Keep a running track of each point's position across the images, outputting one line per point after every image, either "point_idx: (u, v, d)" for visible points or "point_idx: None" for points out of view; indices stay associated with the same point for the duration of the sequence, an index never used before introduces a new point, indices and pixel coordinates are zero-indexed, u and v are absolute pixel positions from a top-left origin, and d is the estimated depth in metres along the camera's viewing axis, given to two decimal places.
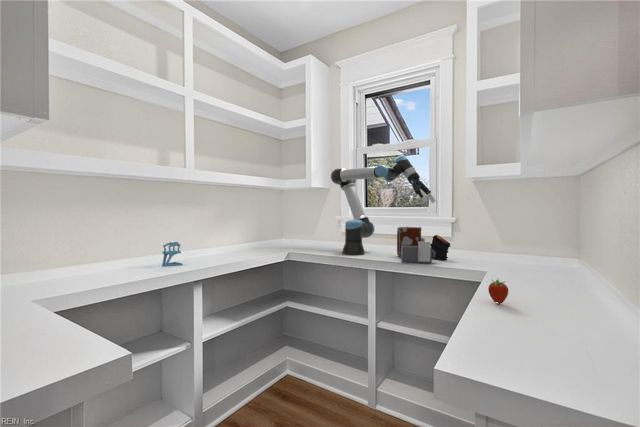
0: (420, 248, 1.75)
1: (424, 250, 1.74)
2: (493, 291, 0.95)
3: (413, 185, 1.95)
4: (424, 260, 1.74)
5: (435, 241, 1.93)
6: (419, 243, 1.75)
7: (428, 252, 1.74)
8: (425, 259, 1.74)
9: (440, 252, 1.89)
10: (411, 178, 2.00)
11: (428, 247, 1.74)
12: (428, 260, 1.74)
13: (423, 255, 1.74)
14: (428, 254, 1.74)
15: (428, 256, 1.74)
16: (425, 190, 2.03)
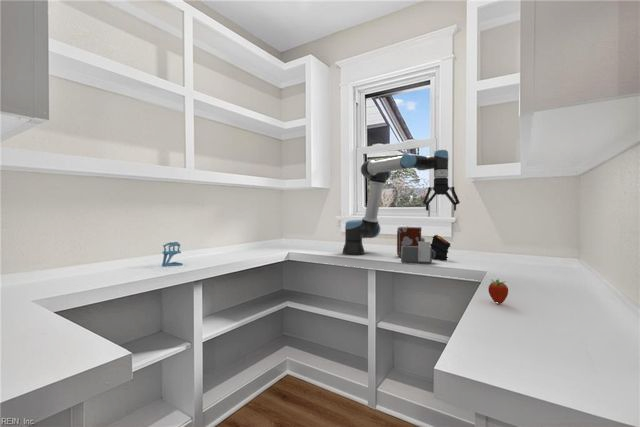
0: (420, 248, 1.75)
1: (424, 250, 1.74)
2: (493, 291, 0.95)
3: None
4: (424, 260, 1.74)
5: (435, 241, 1.93)
6: (419, 243, 1.75)
7: (428, 252, 1.74)
8: (425, 259, 1.74)
9: (440, 252, 1.89)
10: None
11: (428, 247, 1.74)
12: (428, 260, 1.74)
13: (423, 255, 1.74)
14: (428, 254, 1.74)
15: (428, 256, 1.74)
16: (450, 200, 1.73)
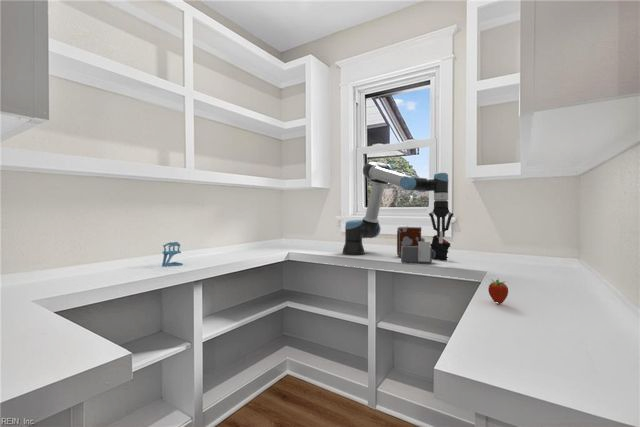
0: (420, 248, 1.75)
1: (424, 250, 1.74)
2: (493, 291, 0.95)
3: (431, 220, 1.74)
4: (424, 260, 1.74)
5: (435, 241, 1.93)
6: (419, 243, 1.75)
7: (428, 252, 1.74)
8: (425, 259, 1.74)
9: (440, 252, 1.89)
10: None
11: (428, 247, 1.74)
12: (428, 260, 1.74)
13: (423, 255, 1.74)
14: (428, 254, 1.74)
15: (428, 256, 1.74)
16: (442, 224, 1.73)
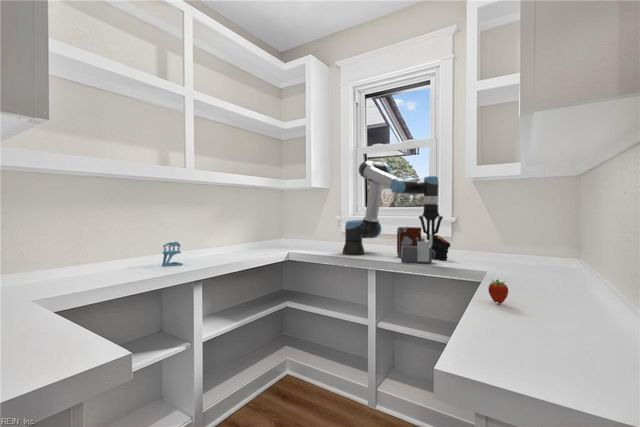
0: (419, 248, 1.75)
1: (423, 250, 1.74)
2: (493, 291, 0.95)
3: (421, 223, 1.75)
4: (423, 260, 1.74)
5: (435, 241, 1.93)
6: (418, 243, 1.75)
7: (427, 252, 1.74)
8: (424, 259, 1.74)
9: (440, 252, 1.89)
10: None
11: (427, 247, 1.74)
12: (427, 260, 1.74)
13: (422, 255, 1.75)
14: (427, 254, 1.74)
15: (427, 256, 1.74)
16: None
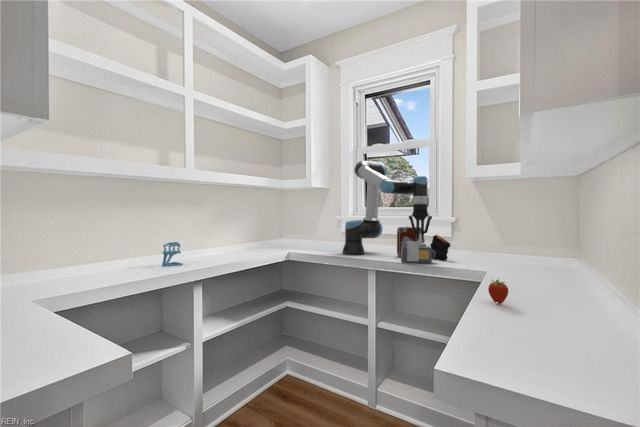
0: (409, 248, 1.76)
1: (413, 250, 1.75)
2: (493, 291, 0.95)
3: (411, 223, 1.76)
4: (413, 260, 1.75)
5: (435, 241, 1.93)
6: (408, 243, 1.76)
7: (417, 252, 1.75)
8: (414, 259, 1.75)
9: (440, 252, 1.89)
10: None
11: (417, 247, 1.75)
12: (417, 260, 1.75)
13: (411, 254, 1.76)
14: (417, 254, 1.75)
15: (417, 256, 1.75)
16: (421, 227, 1.75)
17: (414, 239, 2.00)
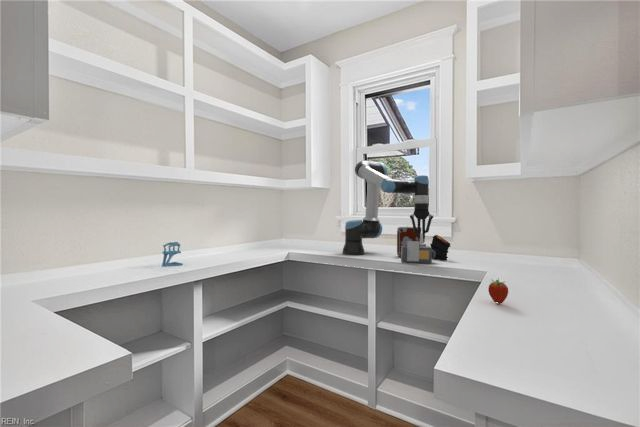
0: (409, 248, 1.76)
1: (413, 250, 1.75)
2: (493, 291, 0.95)
3: (412, 222, 1.76)
4: (413, 260, 1.75)
5: (435, 241, 1.93)
6: (408, 243, 1.76)
7: (417, 252, 1.75)
8: (414, 259, 1.75)
9: (440, 252, 1.89)
10: None
11: (417, 247, 1.75)
12: (417, 260, 1.75)
13: (412, 254, 1.75)
14: (417, 254, 1.75)
15: (417, 256, 1.75)
16: (422, 226, 1.75)
17: (414, 239, 2.00)
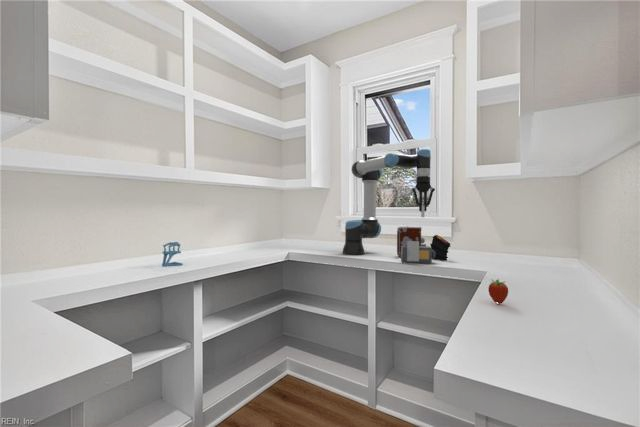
0: (409, 248, 1.76)
1: (413, 250, 1.75)
2: (493, 291, 0.95)
3: (414, 195, 1.81)
4: (413, 260, 1.75)
5: (435, 241, 1.93)
6: (408, 243, 1.76)
7: (417, 252, 1.75)
8: (414, 259, 1.75)
9: (440, 252, 1.89)
10: None
11: (417, 247, 1.75)
12: (417, 260, 1.75)
13: (412, 254, 1.75)
14: (417, 254, 1.75)
15: (417, 256, 1.75)
16: (424, 199, 1.79)
17: (414, 239, 2.00)
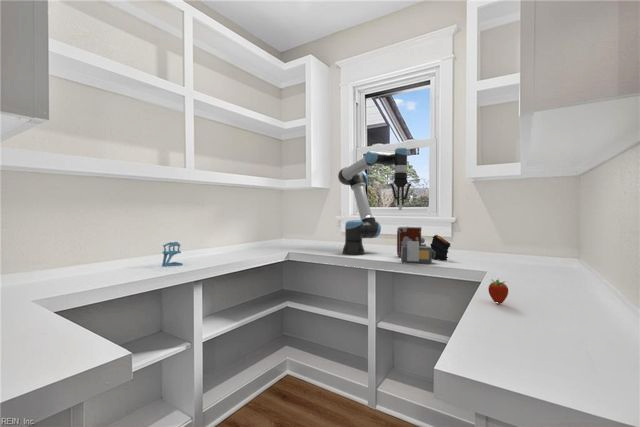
0: (409, 248, 1.76)
1: (413, 250, 1.75)
2: (493, 291, 0.95)
3: None
4: (413, 260, 1.75)
5: (435, 241, 1.93)
6: (408, 243, 1.76)
7: (417, 252, 1.75)
8: (414, 259, 1.75)
9: (440, 252, 1.89)
10: None
11: (417, 247, 1.75)
12: (417, 260, 1.75)
13: (412, 254, 1.75)
14: (417, 254, 1.75)
15: (417, 256, 1.75)
16: (401, 193, 1.95)
17: (414, 239, 2.00)
